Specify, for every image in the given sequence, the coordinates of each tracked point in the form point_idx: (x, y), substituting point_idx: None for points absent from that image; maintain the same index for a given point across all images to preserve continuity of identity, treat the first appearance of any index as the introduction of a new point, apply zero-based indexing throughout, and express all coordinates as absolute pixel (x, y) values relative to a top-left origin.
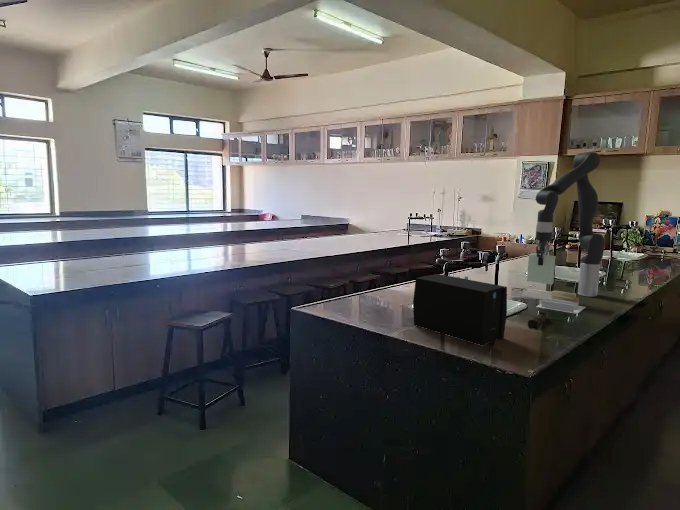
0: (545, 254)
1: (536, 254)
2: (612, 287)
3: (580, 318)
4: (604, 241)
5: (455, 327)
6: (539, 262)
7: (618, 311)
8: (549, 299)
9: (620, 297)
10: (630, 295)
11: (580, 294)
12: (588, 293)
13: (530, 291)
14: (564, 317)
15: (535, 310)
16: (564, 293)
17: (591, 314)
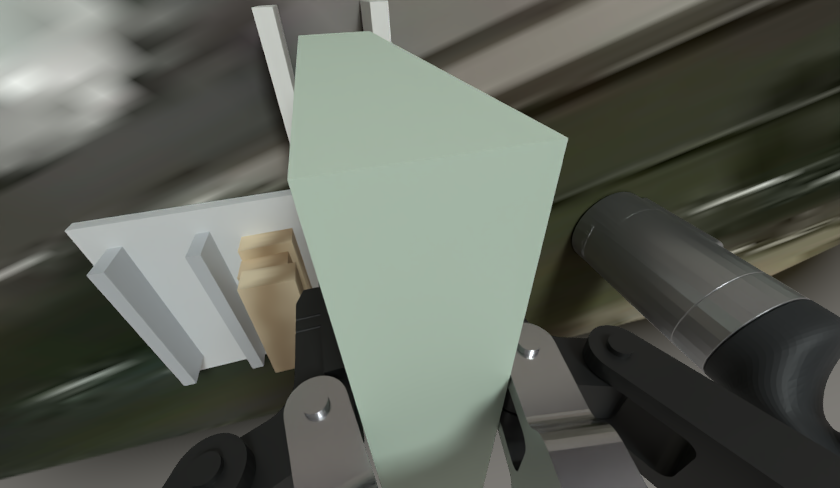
0: (504, 441)
1: (461, 335)
2: (769, 219)
3: (163, 385)
4: None
5: None
6: (307, 324)
7: None
8: (197, 272)
9: (609, 296)
10: None
11: (585, 215)
12: (580, 249)
13: (289, 80)
14: (95, 363)
15: (27, 243)
16: (263, 342)
17: (273, 369)
